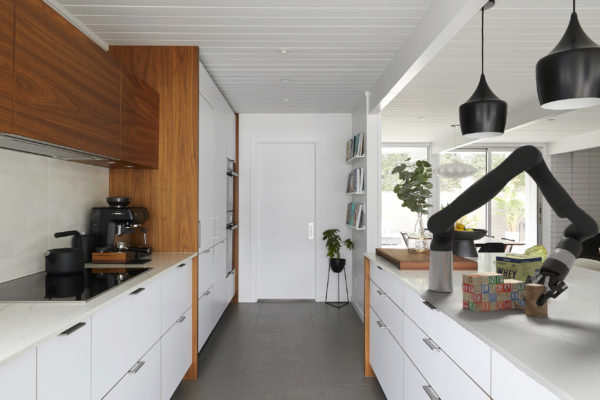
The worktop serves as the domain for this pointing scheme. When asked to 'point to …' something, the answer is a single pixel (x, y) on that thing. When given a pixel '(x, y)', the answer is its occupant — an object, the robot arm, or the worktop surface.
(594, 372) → the worktop surface
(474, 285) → the stack of blocks
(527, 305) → the wooden mallet
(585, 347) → the worktop surface
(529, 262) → the protein box
